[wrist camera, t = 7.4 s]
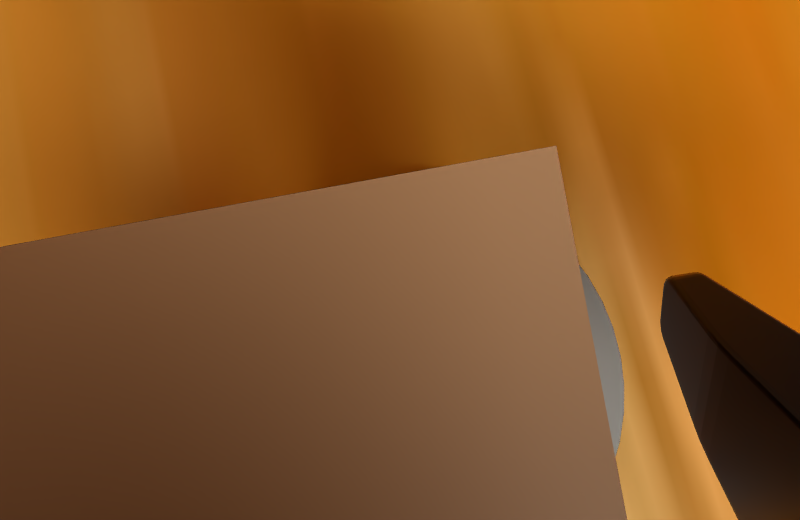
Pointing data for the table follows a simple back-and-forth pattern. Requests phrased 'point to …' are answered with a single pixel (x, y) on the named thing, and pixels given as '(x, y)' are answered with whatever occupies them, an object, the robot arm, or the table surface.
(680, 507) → the table surface
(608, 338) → the slate coaster
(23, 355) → the oak block
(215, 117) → the table surface
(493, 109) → the table surface
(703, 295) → the robot arm
